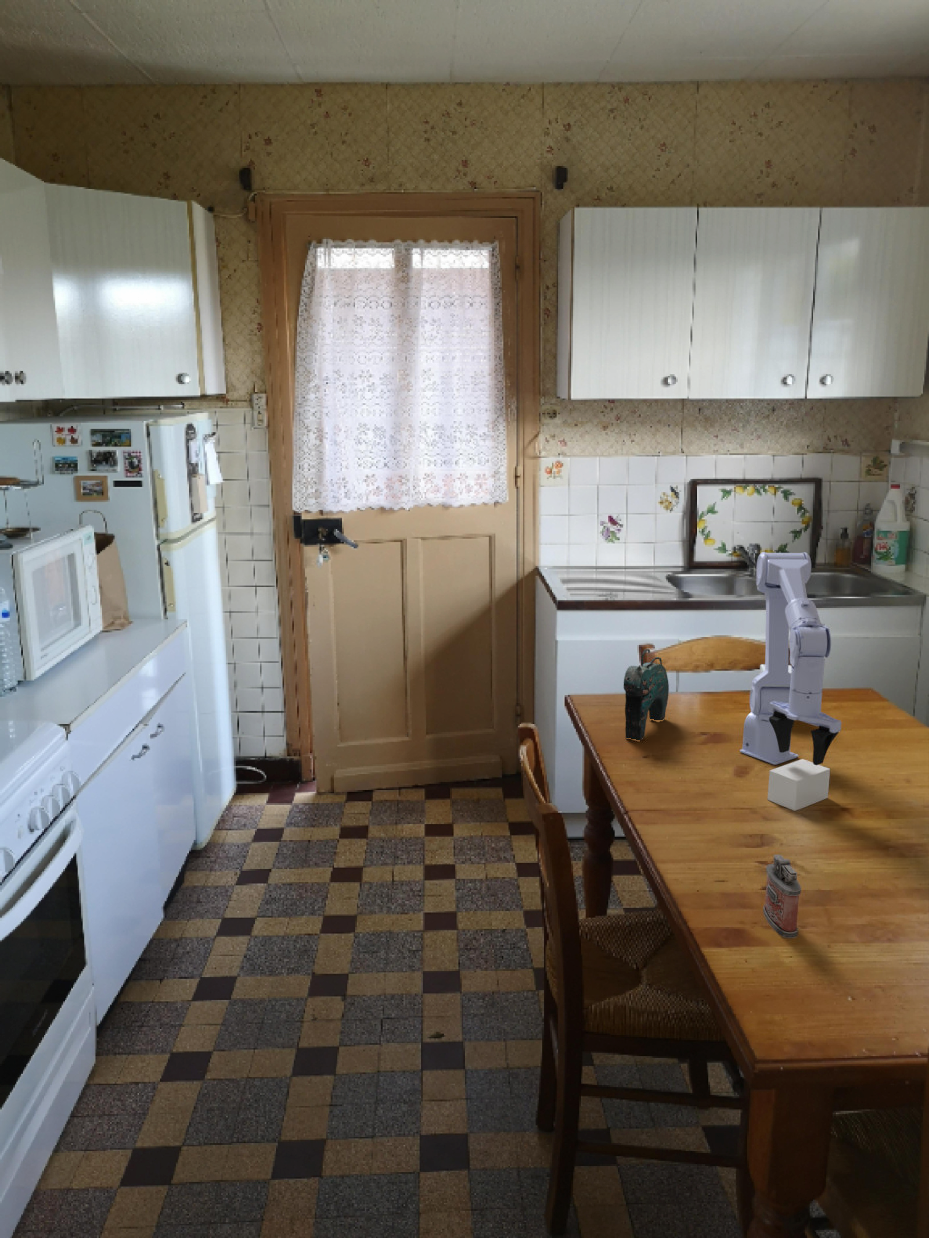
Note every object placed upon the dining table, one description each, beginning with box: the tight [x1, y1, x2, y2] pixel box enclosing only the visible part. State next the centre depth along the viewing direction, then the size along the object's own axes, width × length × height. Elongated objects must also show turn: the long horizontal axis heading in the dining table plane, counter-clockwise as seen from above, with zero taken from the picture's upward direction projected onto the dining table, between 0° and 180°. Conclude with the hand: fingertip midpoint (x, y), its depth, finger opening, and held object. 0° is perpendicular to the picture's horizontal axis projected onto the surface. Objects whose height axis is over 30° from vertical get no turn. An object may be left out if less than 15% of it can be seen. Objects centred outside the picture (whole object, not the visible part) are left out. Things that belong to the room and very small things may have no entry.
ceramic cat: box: [623, 648, 670, 741], centre depth 219 cm, size 20×6×20 cm, turn 148°
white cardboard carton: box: [767, 758, 831, 812], centre depth 182 cm, size 10×6×6 cm, turn 124°
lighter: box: [762, 854, 802, 939], centre depth 139 cm, size 8×3×10 cm, turn 5°
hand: (800, 757), depth 181 cm, fingers open, 7 cm apart
